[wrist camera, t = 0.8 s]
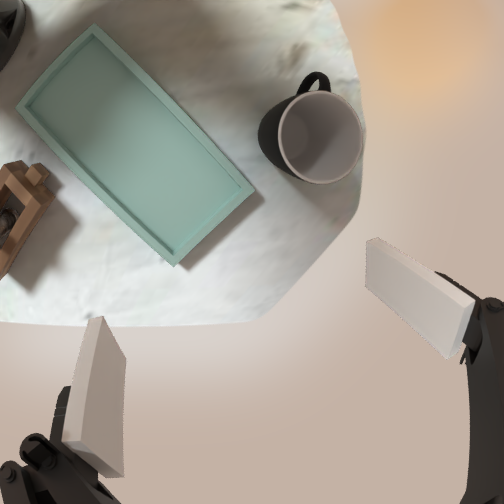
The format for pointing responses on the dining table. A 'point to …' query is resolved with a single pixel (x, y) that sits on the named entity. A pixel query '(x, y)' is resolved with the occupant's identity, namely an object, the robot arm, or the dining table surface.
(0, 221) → the silver cylindrical piece
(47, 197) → the wooden rectangular frame
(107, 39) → the tray
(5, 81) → the dining table surface
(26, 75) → the dining table surface
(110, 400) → the robot arm
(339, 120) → the mug
